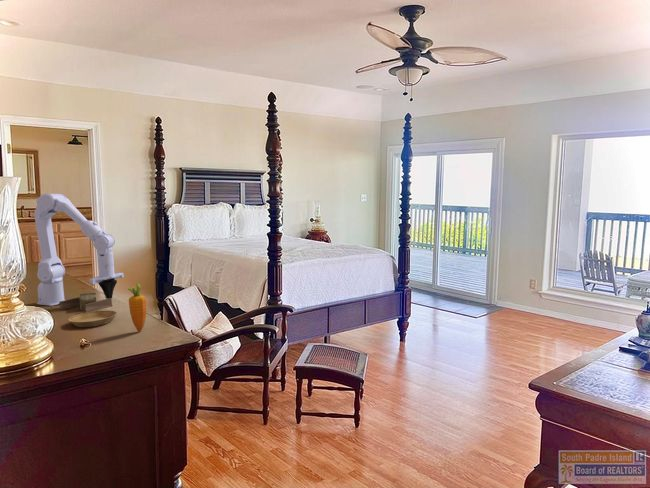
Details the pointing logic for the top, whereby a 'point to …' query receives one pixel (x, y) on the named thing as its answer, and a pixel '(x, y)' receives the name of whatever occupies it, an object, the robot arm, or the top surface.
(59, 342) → the top surface
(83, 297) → the stone block
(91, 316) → the plant saucer
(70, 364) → the top surface
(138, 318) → the carrot
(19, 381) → the top surface
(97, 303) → the chute
